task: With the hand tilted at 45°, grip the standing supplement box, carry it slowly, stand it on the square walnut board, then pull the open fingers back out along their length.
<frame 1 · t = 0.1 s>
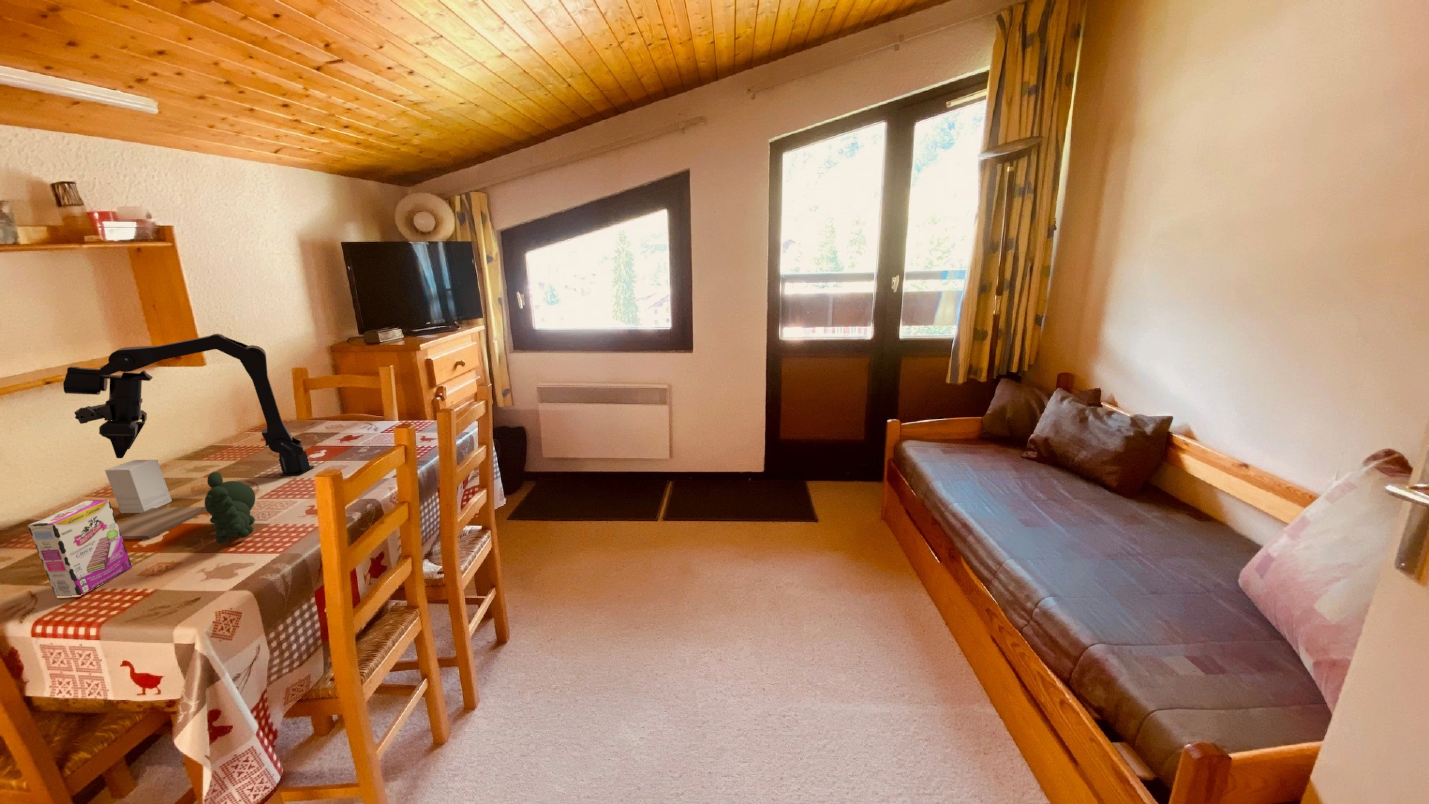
hand: (123, 453, 145), 15 cm above the table, tool pointing down, fingers open, 9 cm apart
walnut board: (151, 524, 138), on the table
candy bar box: (98, 583, 113), on the table
supplement box: (147, 508, 148), on the table
toy figurine: (236, 531, 133), on the table
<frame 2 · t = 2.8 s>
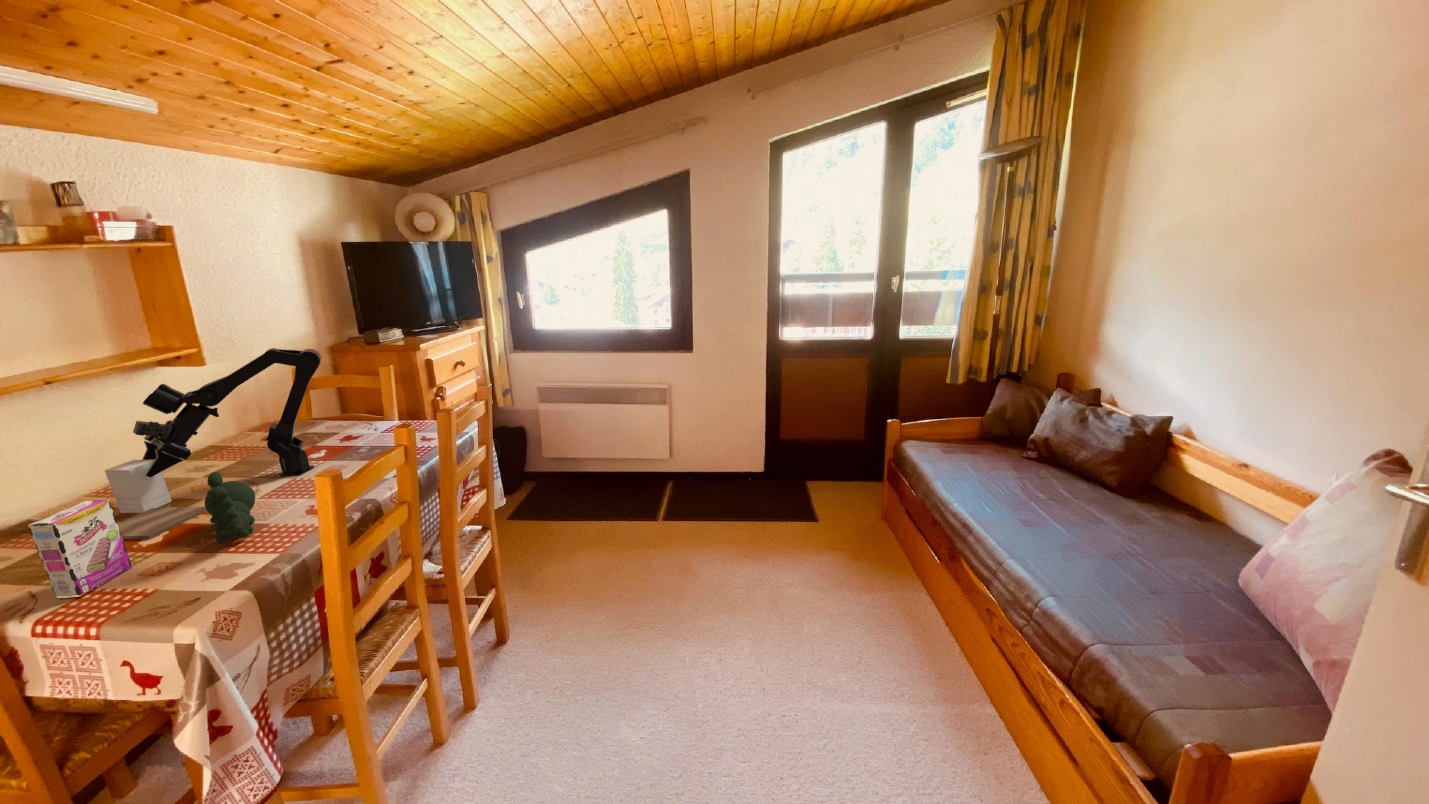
hand: (144, 473, 147), 9 cm above the table, tool tilted 45°, fingers open, 9 cm apart
supplement box: (147, 508, 148), on the table, touching gripper
everything else where it was.
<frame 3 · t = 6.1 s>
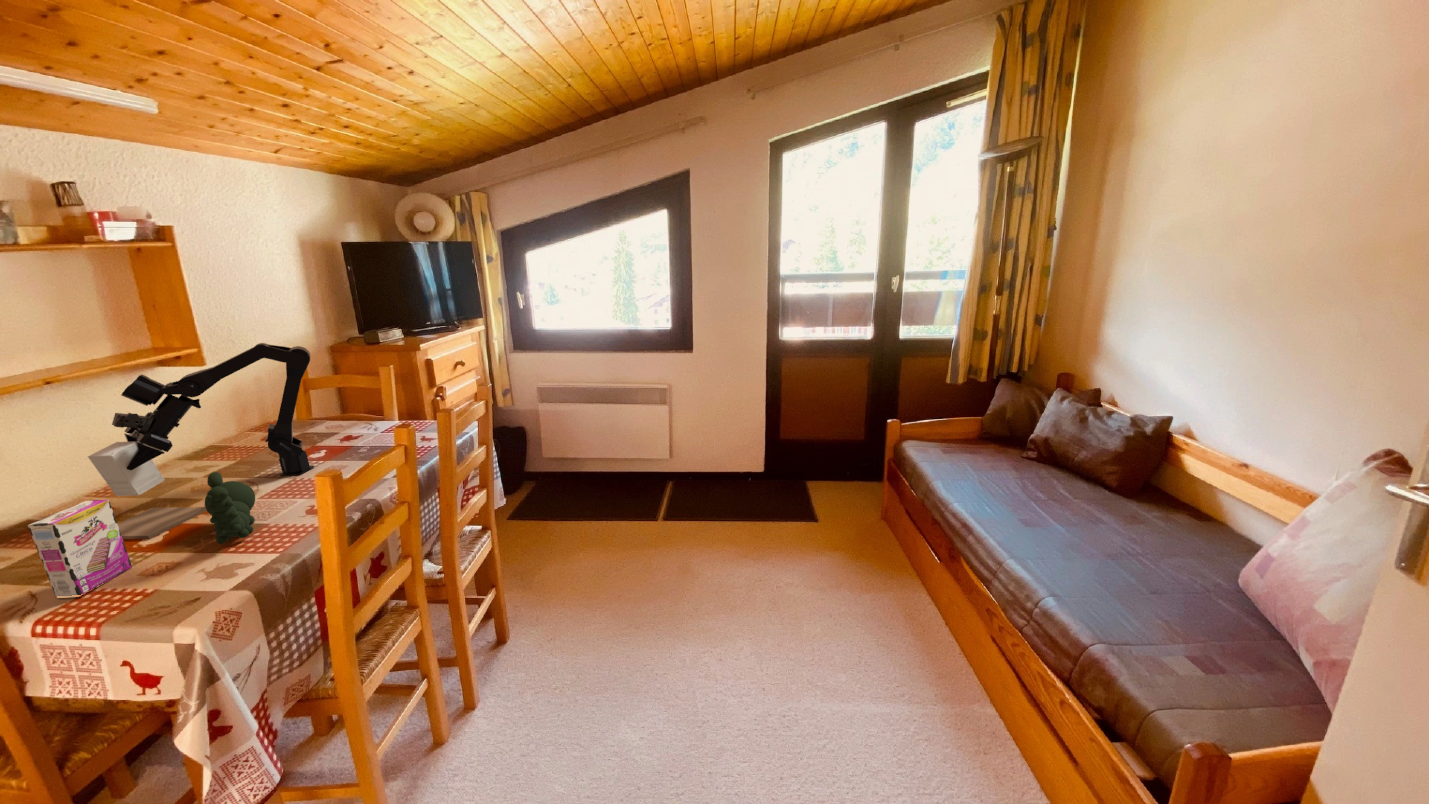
hand: (124, 466, 144), 13 cm above the table, tool tilted 45°, fingers closed on supplement box, 9 cm apart
supplement box: (141, 488, 147), point 5 cm above the table, touching gripper
everything else where it was.
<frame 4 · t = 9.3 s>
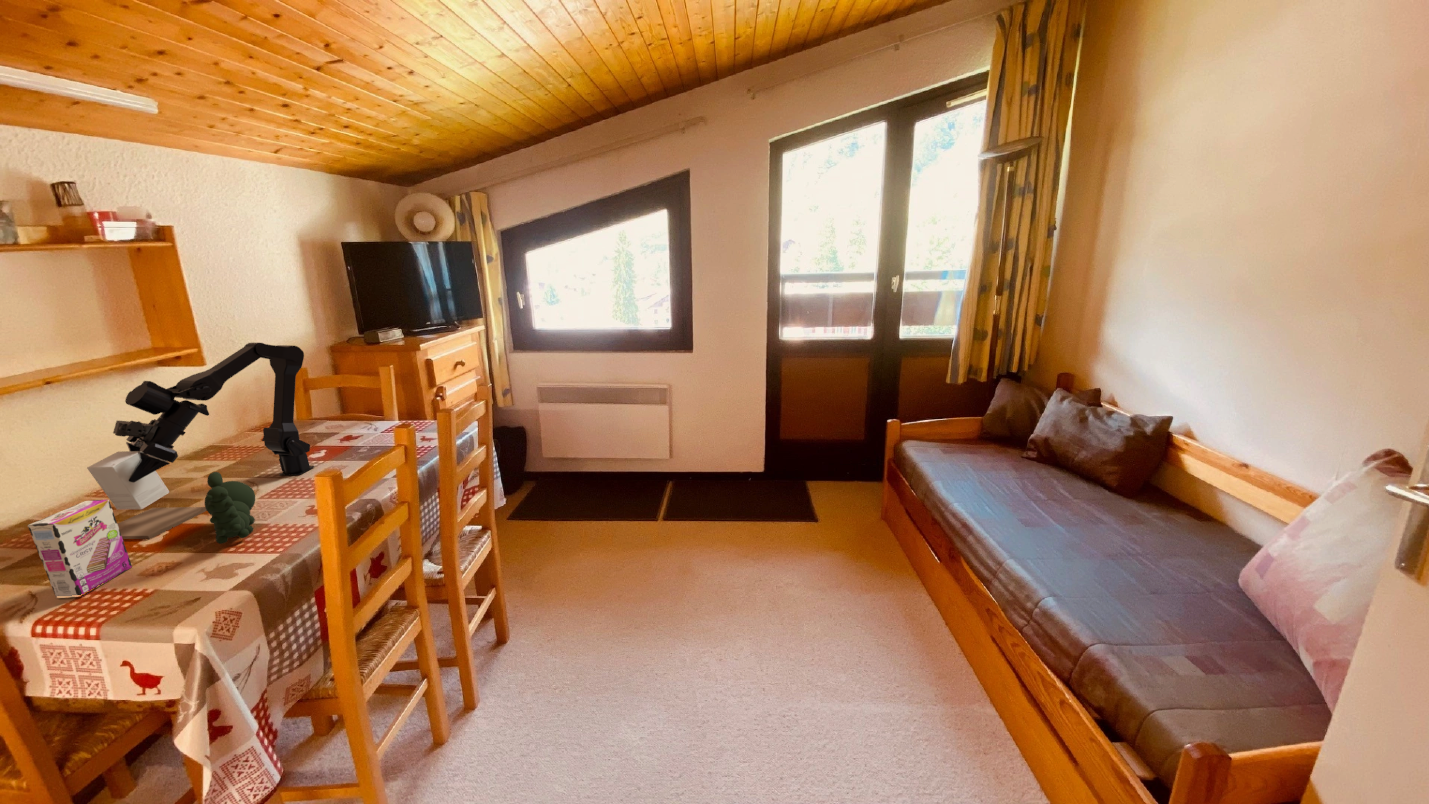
hand: (126, 477, 134), 13 cm above the table, tool tilted 45°, fingers closed on supplement box, 9 cm apart
supplement box: (144, 501, 137), point 6 cm above the table, touching gripper
everything else where it was.
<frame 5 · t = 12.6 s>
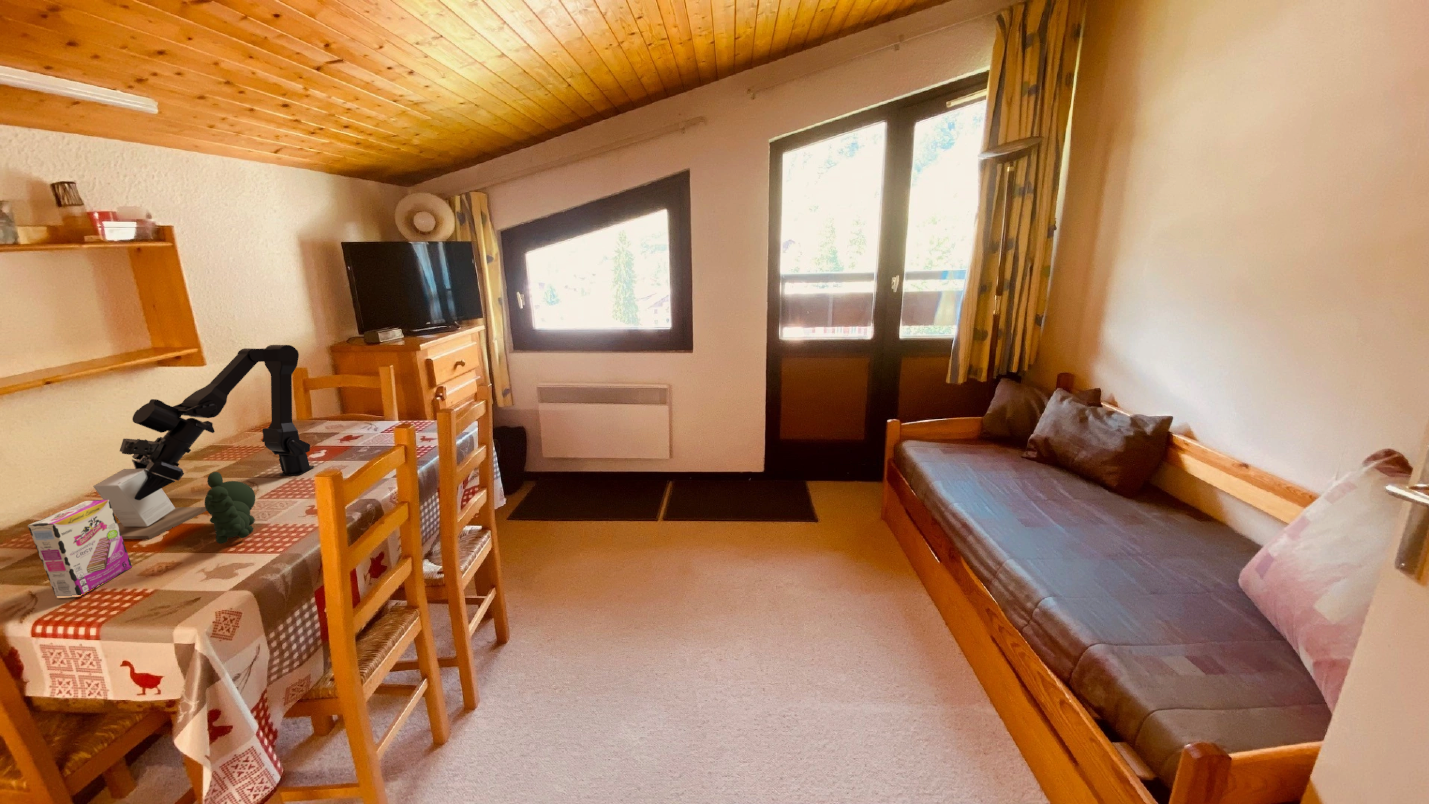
hand: (132, 495, 134), 9 cm above the table, tool tilted 45°, fingers closed on supplement box, 9 cm apart
supplement box: (150, 518, 138), point 2 cm above the table, touching gripper, walnut board
everything else where it was.
when the fingers open (9 cm above the table, at t = 15.4 s): supplement box stays where it is, resting on walnut board.
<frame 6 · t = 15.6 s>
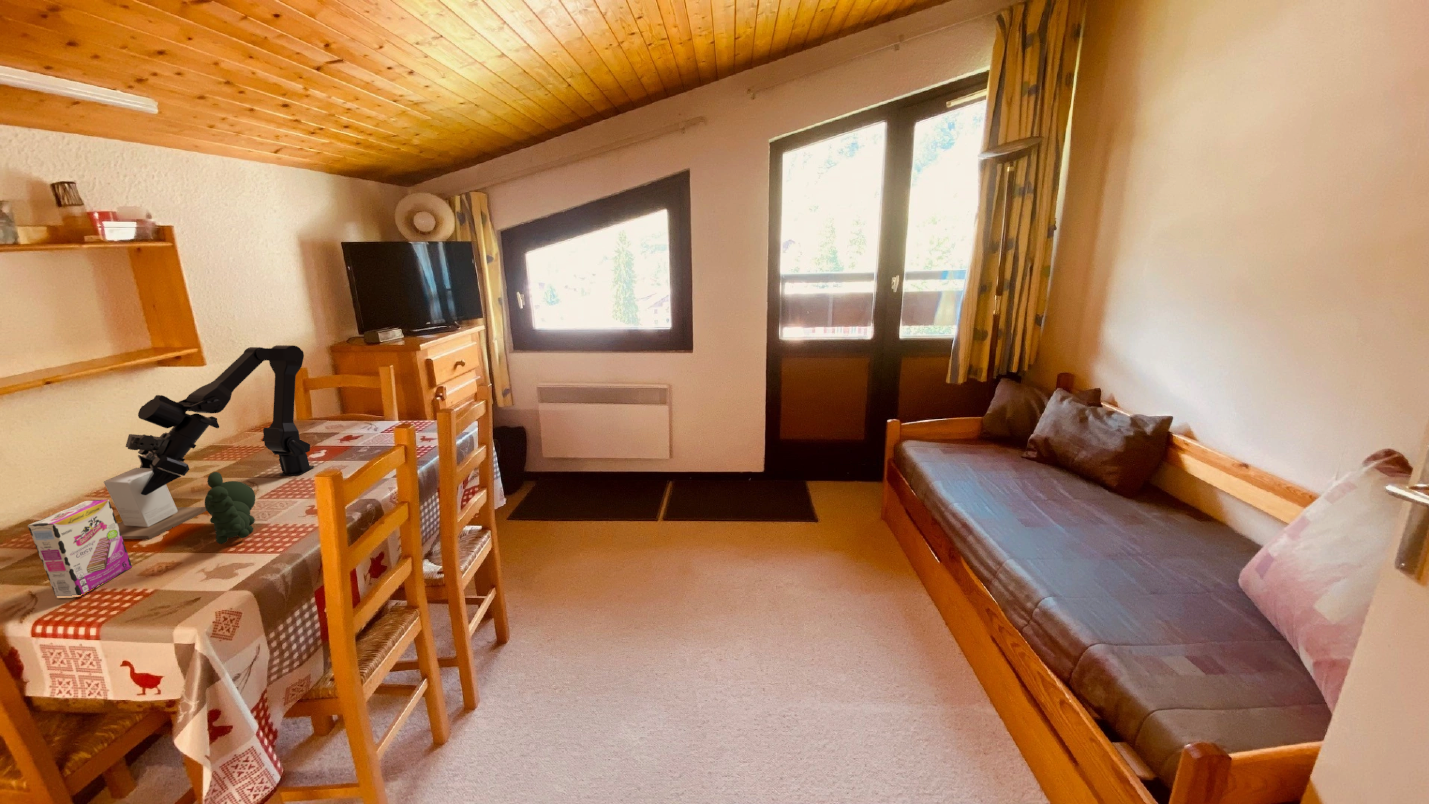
hand: (138, 490, 135), 9 cm above the table, tool tilted 45°, fingers open, 9 cm apart
supplement box: (152, 519, 138), point 1 cm above the table, touching gripper, walnut board
everything else where it was.
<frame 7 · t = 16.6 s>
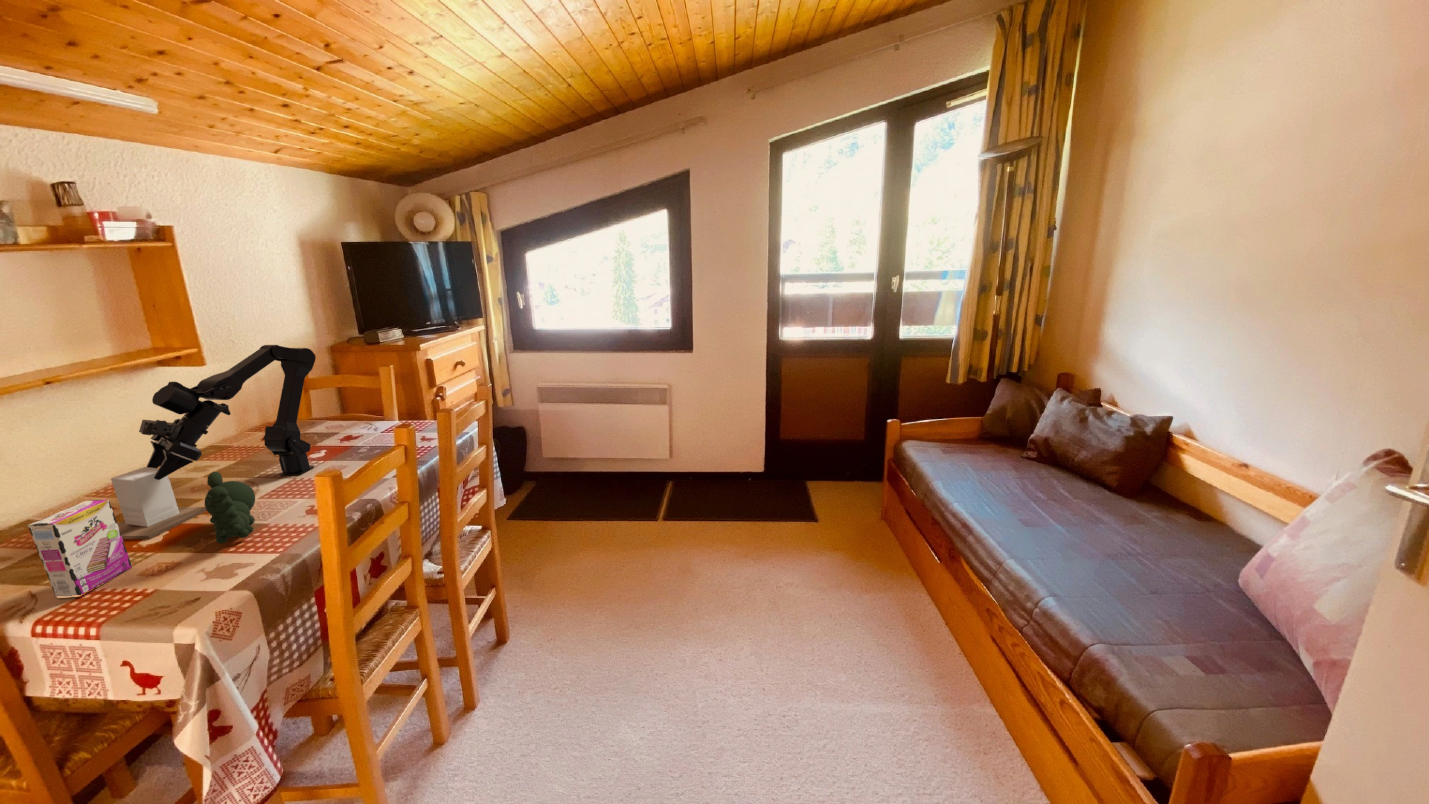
hand: (151, 475, 137), 12 cm above the table, tool tilted 45°, fingers open, 9 cm apart
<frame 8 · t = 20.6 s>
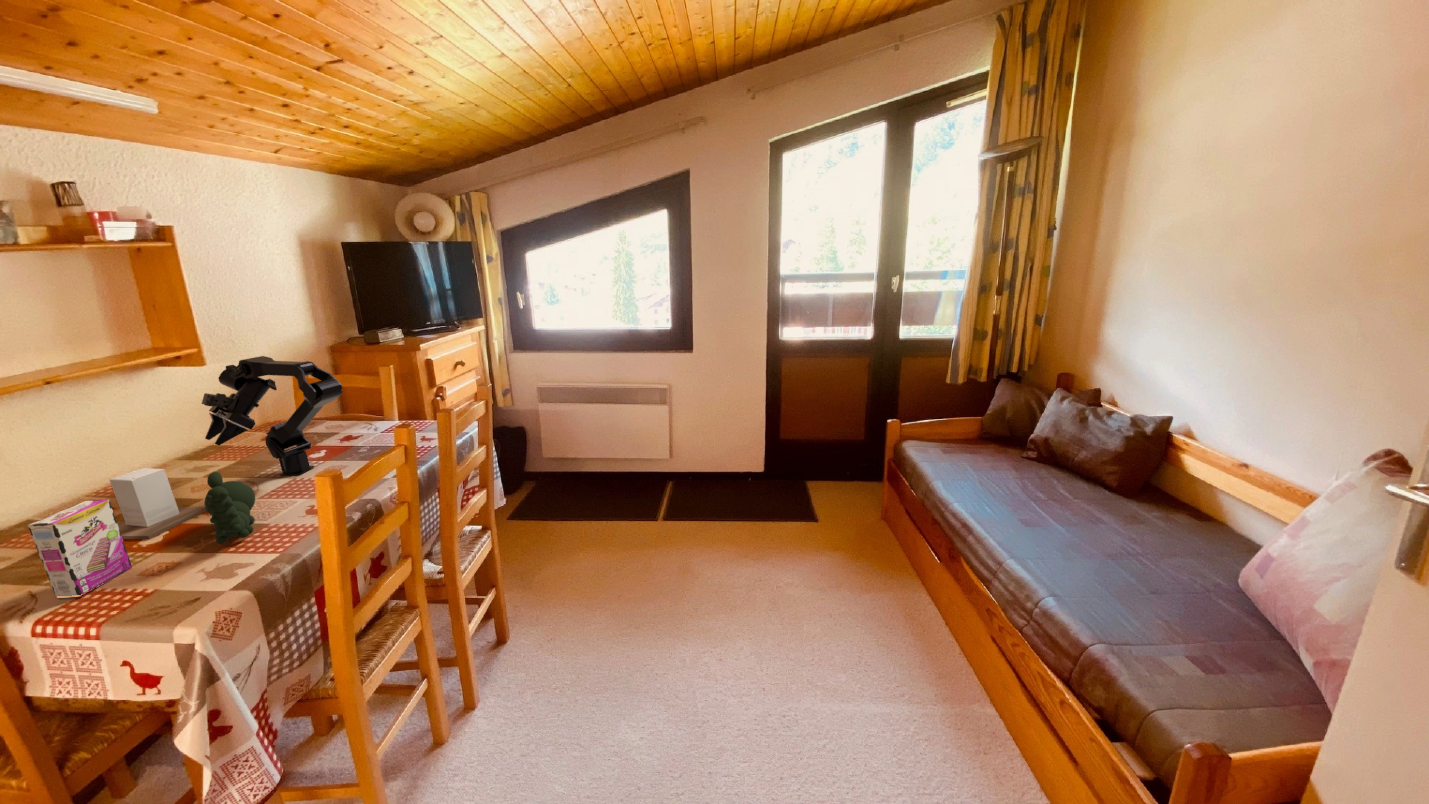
hand: (211, 441, 157), 14 cm above the table, tool tilted 45°, fingers open, 9 cm apart
supplement box: (153, 520, 138), point 1 cm above the table, touching walnut board
everything else where it was.
at the end: supplement box inside the target area on the walnut board (0.8 cm from its centre), point 0.8 cm above the walnut board's base; supplement box tilted 0°; the gripper is holding nothing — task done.
